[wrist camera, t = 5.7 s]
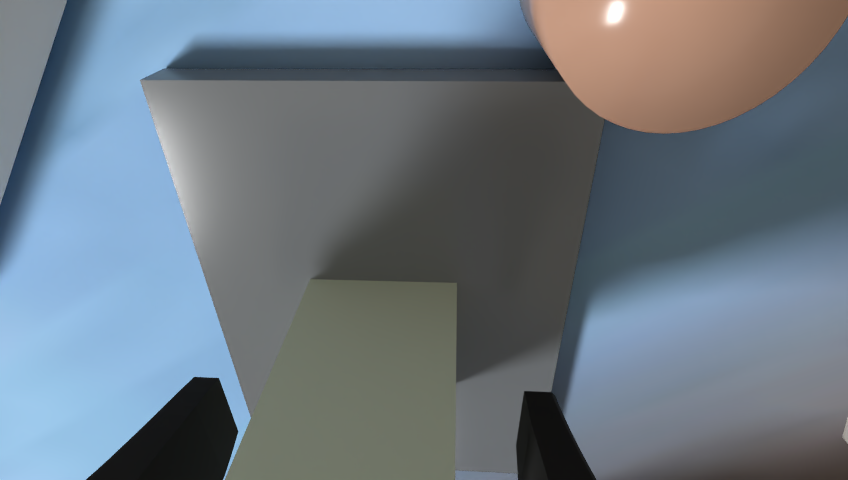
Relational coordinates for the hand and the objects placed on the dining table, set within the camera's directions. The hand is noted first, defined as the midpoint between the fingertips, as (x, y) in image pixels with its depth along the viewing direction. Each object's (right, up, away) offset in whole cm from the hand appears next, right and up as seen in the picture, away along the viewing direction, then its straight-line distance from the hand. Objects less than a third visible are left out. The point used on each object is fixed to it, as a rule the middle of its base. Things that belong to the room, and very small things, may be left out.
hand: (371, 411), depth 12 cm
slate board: (0, +2, +3) cm, 4 cm away
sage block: (0, +1, +3) cm, 3 cm away
